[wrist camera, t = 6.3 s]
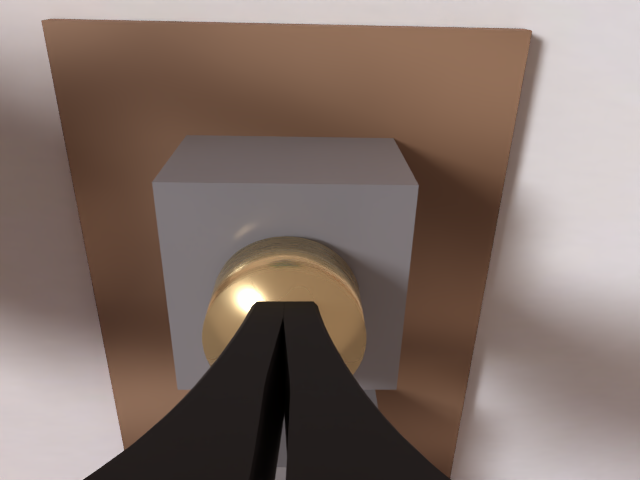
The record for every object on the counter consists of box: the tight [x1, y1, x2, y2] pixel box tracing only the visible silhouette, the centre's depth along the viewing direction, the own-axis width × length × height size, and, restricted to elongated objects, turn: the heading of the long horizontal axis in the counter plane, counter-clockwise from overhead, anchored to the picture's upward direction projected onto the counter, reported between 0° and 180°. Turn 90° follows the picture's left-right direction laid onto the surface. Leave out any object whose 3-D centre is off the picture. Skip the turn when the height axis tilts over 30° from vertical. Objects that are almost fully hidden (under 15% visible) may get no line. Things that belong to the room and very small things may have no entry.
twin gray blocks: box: [152, 135, 419, 480], centre depth 17 cm, size 15×6×4 cm, turn 179°
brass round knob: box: [202, 236, 367, 375], centre depth 14 cm, size 4×4×6 cm
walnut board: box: [42, 19, 532, 478], centre depth 19 cm, size 21×13×1 cm, turn 179°
